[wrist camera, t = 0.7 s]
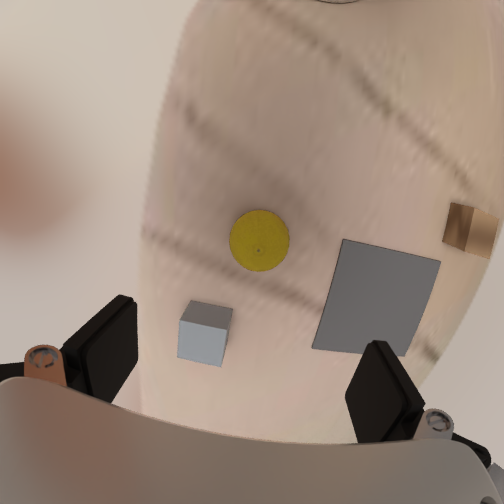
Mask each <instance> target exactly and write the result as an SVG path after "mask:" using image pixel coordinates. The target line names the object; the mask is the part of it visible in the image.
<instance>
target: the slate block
mask: <svg viewBox="0 0 504 504" xmlns="http://www.w3.org/2000/svg"><path fill="white" fill-rule="evenodd" d="M232 310H233V309H230V308H225V307H220V306H215V305H210V304H205V303H201V302H196V301H191V302H190V303H189V305H188V307H187V308H186V310H185V312H184V313H183V315H182V317H181V318H180V321H179V336H178V353H177V357H178V358H182V359H186V360H190V361H194V362H199V363H203V364H208V365H213V366H218V367H221V365H222V361H223V357H224V353H225V349H226V345H227V339H228V333H229V327H230V322H231V316H232Z"/></svg>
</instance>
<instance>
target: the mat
mask: <svg viewBox="0 0 504 504" xmlns="http://www.w3.org/2000/svg"><path fill="white" fill-rule="evenodd" d="M440 264H441V262H440V261H437V260H433V259H429V258H424V257H420V256H416V255H412V254H408V253H403V252H399V251H395V250H390V249H386V248H381V247H377V246H373V245H368V244H363V243H359V242H354V241H350V240H345V239H343V241H342V245H341V249H340V253H339V257H338V261H337V265H336V269H335V272H334V276H333V280H332V283H331V287H330V290H329V294H328V297H327V301H326V304H325V307H324V311H323V314H322V317H321V320H320V324H319V327H318V330H317V333H316V336H315V339H314V342H313V345H312V349H319V350H328V351H337V352H347V353H358V354H363V353H364V350H365V348H366V346H367V344H368V343H371V342H372V341H373V340H382V341H387V342H388V344H389V345H390V347H391V348H392V350H393V352H394V353H395V355H396V356H405V354H406V352H407V350H408V348H409V346H410V343H411V341H412V339H413V337H414V334H415V332H416V330H417V327H418V325H419V323H420V320H421V318H422V315H423V313H424V310H425V308H426V305H427V302H428V300H429V297H430V294H431V291H432V288H433V285H434V283H435V280H436V276H437V273H438V270H439V267H440Z"/></svg>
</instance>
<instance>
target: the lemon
mask: <svg viewBox="0 0 504 504" xmlns="http://www.w3.org/2000/svg"><path fill="white" fill-rule="evenodd" d="M289 240H290V238H289V233H288V229H287V227H286V225H285V224H284V222H283V221H282V220H281V219H280V218H279V217H278V216H277V215H275V214H274V213H271V212H268V211H265V210H255V211H250V212H248V213H246V214H244V215H243V216H241V217H240V218H239V219H238V220H237V221H236V222H235V224H234V225H233V227H232V230H231V233H230V239H229V243H230V249H231V252H232V254H233V257H234V258H235V259H236V261H237V262H238V263H239V264H240V265H242V266H243V267H244V268H246V269H248V270H251V271H256V272H261V271H267V270H270V269H272V268H274V267H276V266H277V265H278V264H279V263H280V262H282V261H283V259H284V257H285V256H286V254H287V252H288V248H289Z"/></svg>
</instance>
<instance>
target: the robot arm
mask: <svg viewBox="0 0 504 504" xmlns="http://www.w3.org/2000/svg"><path fill="white" fill-rule="evenodd" d="M321 1H326V2H332V3H347V2H353V1H357V0H321ZM137 361H138V334H137V303H136V302H134V300H133V298H132V297H127V296H124V295H118V296H116V297H115V298H114V299H113V300H112V301H111V302H109V303H108V304H107V305H106V306H105V307H104V308H103V309H101V310H100V311H99V312H98V313H97V314H96V315H95V316H94V317H92V318H91V319H90V320H89V321H88V322H87V323H86V324H85V325H83V326H82V327H81V328H80V329H79V330H78V331H77V332H76V333H75V334H74V335H72V336H71V337H70V338H69V339H68V340H67V341H66V342H65V343H64V344H63V347H62V348H61V349H60V350H58V349H57V348H55V347H54V346H50V345H38V346H35V347H33V348H31V349H30V350H28V351H27V353H26V354H25V358H24V362H19V363H10V364H0V504H504V470H503V469H502V468H501V467H500V466H498V465H497V464H496V463H493V464H492V465H491V456H490V454H489V452H488V450H487V449H486V448H485V447H483V446H481V445H479V444H477V443H474V442H472V441H470V440H468V439H466V438H464V437H461V436H459V435H457V434H455V433H453V429H454V423H453V420H452V418H451V417H450V416H449V415H448V414H447V413H445V412H444V411H442V410H439V409H428V410H426V411H424V409H423V407H424V405H425V402H424V400H423V399H422V397H421V395H420V393H419V392H418V390H417V388H416V387H415V385H414V383H413V382H412V380H411V378H410V377H409V375H408V374H407V372H406V370H405V369H404V367H403V366H402V364H401V362H400V361H399V359H398V358H397V356H396V355H395V353H394V352H393V350H392V348H391V347H390V345H389V344H388V342H387V341H382V340H373V341H372V342H371V343H368V344H367V346H366V348H365V350H364V353H363V355H362V358H361V360H360V362H359V364H358V367H357V369H356V371H355V373H354V376H353V378H352V380H351V382H350V384H349V386H348V388H347V390H346V393H345V400H346V403H347V407H348V410H349V413H350V417H351V420H352V424H353V427H354V430H355V434H356V437H357V441H358V443H351V444H318V443H296V442H282V441H271V440H262V439H254V438H246V437H239V436H233V435H227V434H221V433H216V432H211V431H206V430H201V429H196V428H192V427H187V426H183V425H179V424H175V423H171V422H167V421H164V420H160V419H157V418H153V417H150V416H147V415H143V414H140V413H137V412H134V411H131V410H128V409H125V408H122V407H119V406H116V405H113V404H111V403H112V401H113V399H114V398H115V396H116V395H117V393H118V392H119V390H120V388H121V387H122V385H123V384H124V382H125V381H126V379H127V377H128V376H129V374H130V373H131V371H132V370H133V368H134V367H135V365H136V363H137Z"/></svg>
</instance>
